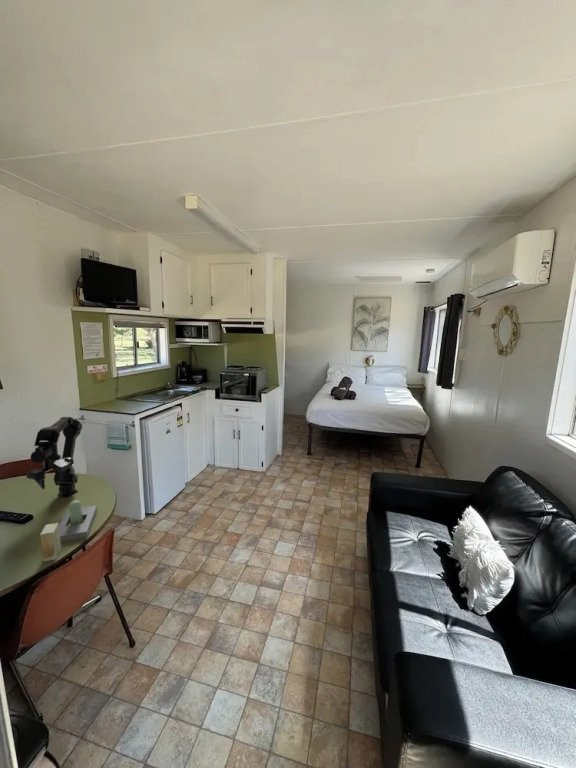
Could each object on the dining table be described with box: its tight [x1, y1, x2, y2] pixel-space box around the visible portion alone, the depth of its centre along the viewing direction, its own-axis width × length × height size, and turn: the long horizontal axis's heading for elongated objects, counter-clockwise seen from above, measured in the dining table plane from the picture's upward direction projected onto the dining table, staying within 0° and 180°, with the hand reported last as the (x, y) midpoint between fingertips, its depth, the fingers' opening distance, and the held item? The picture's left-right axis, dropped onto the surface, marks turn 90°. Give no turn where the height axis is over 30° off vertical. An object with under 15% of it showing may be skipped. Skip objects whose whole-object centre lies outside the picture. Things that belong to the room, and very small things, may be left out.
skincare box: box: [39, 522, 62, 563], centre depth 119 cm, size 6×4×12 cm
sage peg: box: [68, 499, 83, 525], centre depth 137 cm, size 4×4×12 cm
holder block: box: [59, 505, 98, 543], centre depth 137 cm, size 20×12×3 cm, turn 21°
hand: (52, 484), depth 147 cm, fingers open, 9 cm apart
